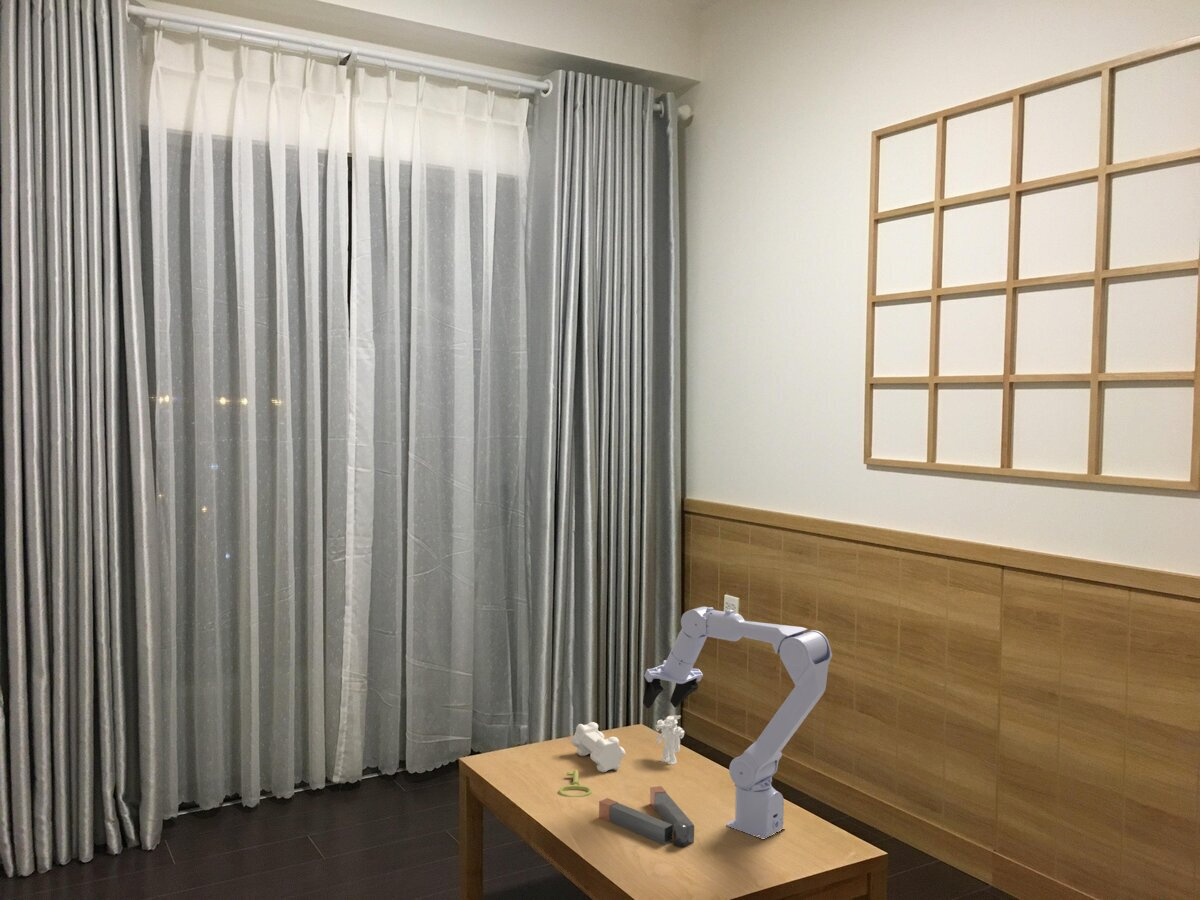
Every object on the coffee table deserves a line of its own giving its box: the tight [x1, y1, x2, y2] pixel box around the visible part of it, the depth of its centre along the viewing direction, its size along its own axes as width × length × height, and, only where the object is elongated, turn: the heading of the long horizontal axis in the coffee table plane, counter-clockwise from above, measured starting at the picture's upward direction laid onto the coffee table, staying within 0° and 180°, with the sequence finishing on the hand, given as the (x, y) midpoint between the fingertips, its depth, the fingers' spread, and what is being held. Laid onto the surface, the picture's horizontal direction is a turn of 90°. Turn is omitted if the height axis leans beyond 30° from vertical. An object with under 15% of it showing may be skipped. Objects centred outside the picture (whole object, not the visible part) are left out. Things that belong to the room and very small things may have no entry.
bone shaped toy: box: [570, 721, 626, 773], centre depth 234 cm, size 15×9×8 cm, turn 25°
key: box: [558, 769, 593, 798], centre depth 218 cm, size 7×12×2 cm, turn 19°
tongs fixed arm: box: [598, 797, 674, 846], centre depth 197 cm, size 18×2×4 cm, turn 46°
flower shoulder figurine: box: [654, 714, 685, 766], centre depth 235 cm, size 9×4×12 cm, turn 38°
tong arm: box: [649, 785, 695, 848], centre depth 199 cm, size 21×4×4 cm, turn 16°
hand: (659, 704), depth 214 cm, fingers open, 7 cm apart
